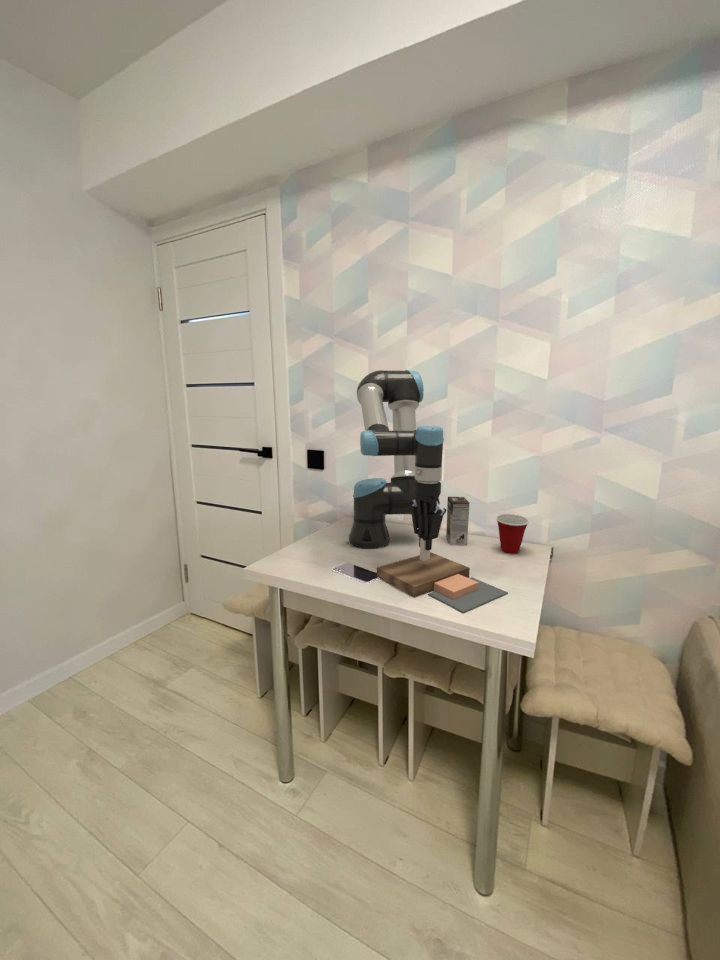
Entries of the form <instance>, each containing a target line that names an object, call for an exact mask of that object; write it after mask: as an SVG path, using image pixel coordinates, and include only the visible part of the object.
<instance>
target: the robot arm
mask: <svg viewBox="0 0 720 960" xmlns="http://www.w3.org/2000/svg"><path fill="white" fill-rule="evenodd" d="M424 389H425V387H424V383H423V378H422V376H421V374H420V373H419V372H418V371H415V370H408V369H405V370H383V369H381V370H375V371H372V372H370V373H368V374H367V375H365V376H364V377H363V378H362V379H361V381H360V382H359V384H358V386H357V388H356V399H357V402H358V403H359V404H360V408H361V413H362V418H363V426H364V430H362V431H361V432H360V438H359V439H360V440H359V441H360V442H359V446H360V447H359V448H360V453H361V455H363V456H368V457H369V456H370V457H371V456H372V457H383V456H384V457H385V456H390V457H391V456H392V457H393V462H394V463H393V464H394V467H393V469H394V473H393V475H392V476H391V477H390V482H387V480H386V479H385V478H382V477H378V478H377V477H375V478H374V477H373V478H368V479H367V478H366V479H363V480H359V481H358V482H356V483H355V484H354V486H353V495H352V497H353V523H352V526H351V529H350V533H349V535H348V543H349V545H350V546H352V547H355V548H358V549H365V550H366V549H368V550H369V549H370V550H374V549H382V548H385V547H387V546H388V545H390V543H391V539H390V538H391V537H390V536H391V535H390V532H389V530H388V526H387V523H386V516H387V515H390V516H391V515H411V519H412V527H413V533H414V535H417V537H418V547H419V555H420V560H422V561H425V560H428V559H430V552H431V550H432V548H433V546H432V545H433V540H434V539H438V538H439V535H440V531H441V526H442V522H443V519H444V516H445V514H447V508H445V507H442V506H441V503H440V496H441V493H442V483H441V481H442V474H443V473H442V471H443V469H442V468H443V454H444V453H443V452H444V451H443V450H444V441H445V439H444V429H443V427H441V426H438V425H437V426H436V425H420V426H418V427H417V419H416V417H417V415H416V410H417V409H418V408H419V407H420V403H422V401H423V400H424V392H425V391H424ZM384 403H387V405H388V409H389V410H391V411H392V430H390V427H389V422H388V419H387V415H386V410H385V407H384V406H385V405H384Z"/></svg>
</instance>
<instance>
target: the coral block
mask: <svg viewBox="0 0 720 960" xmlns="http://www.w3.org/2000/svg"><path fill="white" fill-rule="evenodd" d="M469 578H470V577H469ZM469 578H467V577H464V576H462V575H460V574H457V575H454V576H451V577H448V578H446V579H443V580H440V581H438V582H435V583H434V591H437V592H439V593H441V594H443V595H446V596H448V597H450V598H452V599H456V598H459V597H461V596H463V595H466V594H468V593H470V592H473V591H475V590H477V589H478V582H477V581H474V580H472V579H469Z"/></svg>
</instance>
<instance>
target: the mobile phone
mask: <svg viewBox="0 0 720 960" xmlns="http://www.w3.org/2000/svg"><path fill="white" fill-rule="evenodd" d="M332 569H333V570H335V571H338V572H340V573H342V574H345V575H347V576H350V577H351V578H350V579H352V578H354V579H356V580H355V581H357V580H359V581H358V582H360V581H362V582H364V583H363V584H365V583H369V584H371V583H370V582H372V581H374V580H376V579H378V580H380V579H379V577H378V576H377V571H376V572H375V571H373V570H370V569H368V568H365V567H362V566H358V565H356V564H353V563H350V562H344V563H342V564H340V565H337V566H335V567H333V568H332ZM354 579H353V580H354ZM376 581H377V580H376ZM362 582H361V583H362ZM374 582H375V581H374ZM372 583H373V582H372Z"/></svg>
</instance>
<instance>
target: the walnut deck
mask: <svg viewBox="0 0 720 960" xmlns="http://www.w3.org/2000/svg"><path fill="white" fill-rule="evenodd" d="M470 569H471V567H468V566H466V565H463V564H461V563H459V562H456V561H454V560H451V559H450V558H446V557H444V556H442V555H438V554H436V553H433V552H432V551H430V559H428V560H425V561H422V560H420V554H418V555H414V556H412V557H408V558H405V559H401V560H398V561H395V562H391V563H386V564H384V565H381V566H377V567H376V573H377V576H378V577H379V578H380V579H379V580H381V579H382V581H383V580H384V581H383V582H385V583H387V584H388V583H389V585H390V584H391V585H390V586H393V587H394V588H396V589H398V590H399V589H400V590H399V591H402V592H403V593H404V594H407V595H408V596H411V597H412V598H417V597H420V596H422V595H426V594H428V593H431V592H434V591H435V590H434V583H435V582H438V581H440V580H443V579H446V578H448V577H451V576H454V575H457V574H460V575H462V576H464V577H467V578H470Z"/></svg>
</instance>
